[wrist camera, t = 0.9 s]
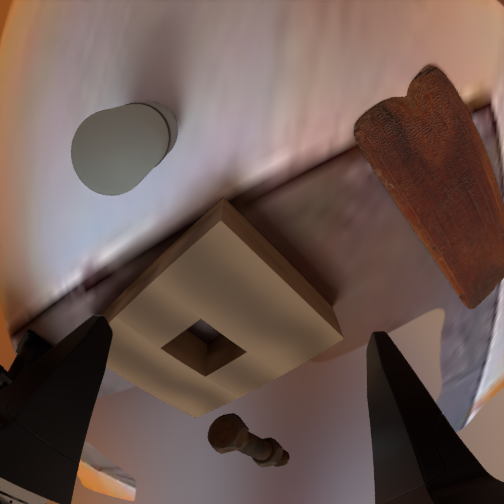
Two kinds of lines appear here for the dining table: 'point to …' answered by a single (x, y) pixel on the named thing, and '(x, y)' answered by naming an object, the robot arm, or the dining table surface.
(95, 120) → the peg
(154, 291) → the board
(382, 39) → the dining table surface
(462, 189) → the wooden tablet
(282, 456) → the bolt
